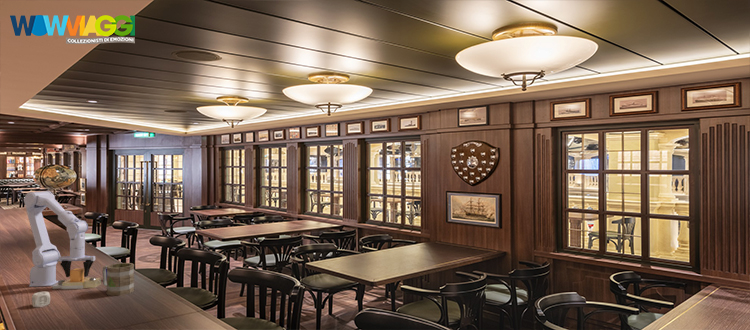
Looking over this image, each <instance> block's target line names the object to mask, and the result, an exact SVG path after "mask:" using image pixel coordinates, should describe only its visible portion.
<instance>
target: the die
mask: <svg viewBox="0 0 750 330" xmlns="http://www.w3.org/2000/svg"><path fill="white" fill-rule="evenodd" d="M50 303H51V293H50V292H49V291H39V292H35V293H33V294H32V297H31V304H32V307H33V308H43V307H47V306H49V304H50Z"/></svg>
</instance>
